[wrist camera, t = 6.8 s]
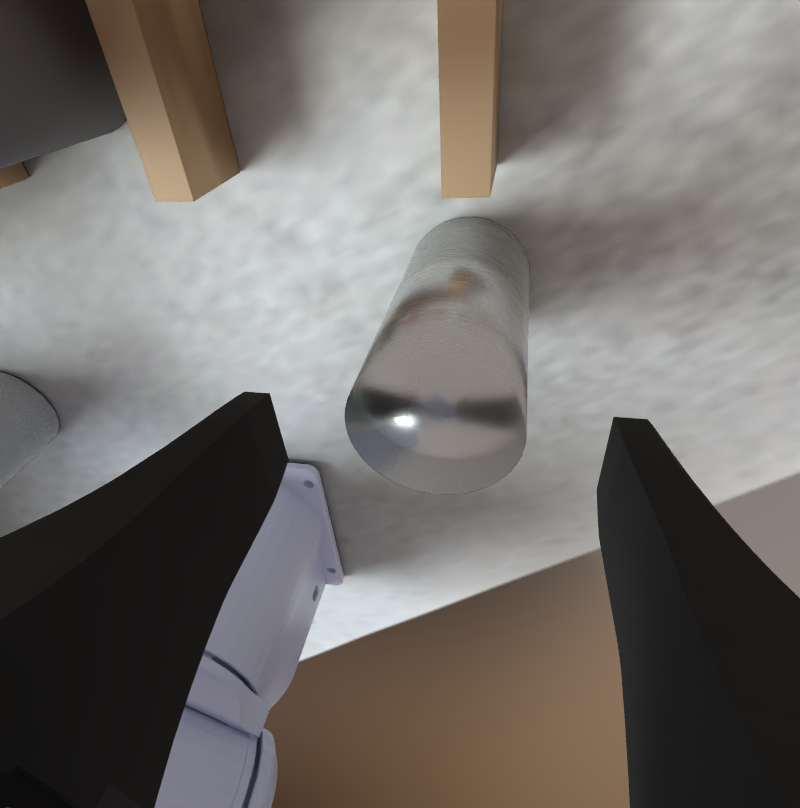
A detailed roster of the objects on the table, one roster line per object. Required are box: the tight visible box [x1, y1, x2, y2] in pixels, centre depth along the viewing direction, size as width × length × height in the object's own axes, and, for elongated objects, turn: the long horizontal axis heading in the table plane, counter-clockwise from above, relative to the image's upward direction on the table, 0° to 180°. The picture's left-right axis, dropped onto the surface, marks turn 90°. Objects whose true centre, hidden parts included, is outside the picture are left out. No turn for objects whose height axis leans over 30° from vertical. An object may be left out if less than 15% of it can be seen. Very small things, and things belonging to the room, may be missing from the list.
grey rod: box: [345, 217, 529, 495], centre depth 14 cm, size 4×4×8 cm
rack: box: [0, 0, 503, 202], centre depth 13 cm, size 8×18×3 cm, turn 94°
